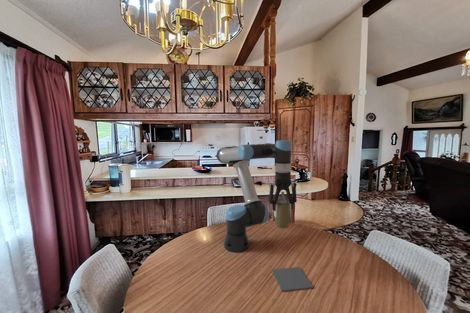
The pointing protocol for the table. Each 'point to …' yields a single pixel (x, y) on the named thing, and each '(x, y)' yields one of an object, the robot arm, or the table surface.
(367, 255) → the table surface
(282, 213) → the squeeze bottle
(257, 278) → the table surface
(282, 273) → the mat
